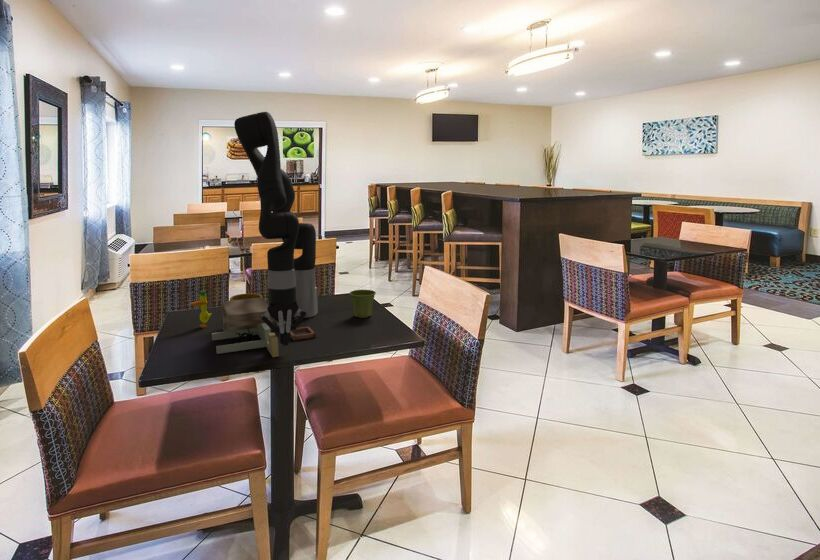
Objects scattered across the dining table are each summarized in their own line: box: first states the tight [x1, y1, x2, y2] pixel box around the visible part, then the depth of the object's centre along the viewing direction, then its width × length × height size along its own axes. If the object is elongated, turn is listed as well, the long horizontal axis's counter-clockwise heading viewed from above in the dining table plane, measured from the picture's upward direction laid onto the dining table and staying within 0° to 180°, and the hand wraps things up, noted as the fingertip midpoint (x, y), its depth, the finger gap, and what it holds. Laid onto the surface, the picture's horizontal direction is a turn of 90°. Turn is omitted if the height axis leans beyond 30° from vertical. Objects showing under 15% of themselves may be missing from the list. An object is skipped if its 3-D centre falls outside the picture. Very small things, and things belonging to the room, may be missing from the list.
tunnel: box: [221, 297, 274, 332], centre depth 149 cm, size 12×17×12 cm
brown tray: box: [290, 326, 316, 341], centre depth 157 cm, size 7×8×1 cm
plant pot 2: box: [349, 289, 377, 319], centre depth 179 cm, size 9×9×9 cm
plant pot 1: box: [229, 292, 263, 301], centre depth 168 cm, size 10×10×10 cm
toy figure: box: [189, 291, 213, 329], centre depth 165 cm, size 7×4×12 cm, turn 126°
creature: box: [226, 327, 254, 345], centre depth 147 cm, size 8×5×8 cm
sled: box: [211, 323, 280, 358], centre depth 145 cm, size 15×24×6 cm, turn 26°
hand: (284, 344), depth 141 cm, fingers closed
